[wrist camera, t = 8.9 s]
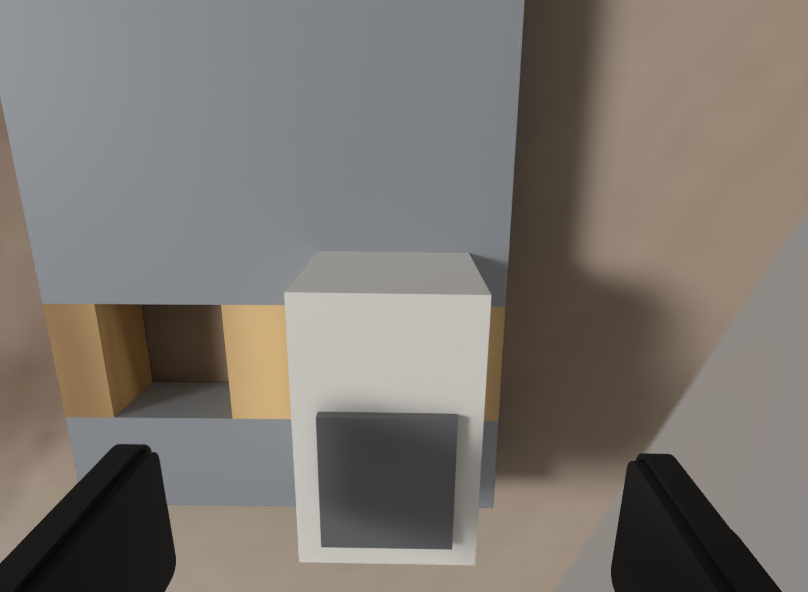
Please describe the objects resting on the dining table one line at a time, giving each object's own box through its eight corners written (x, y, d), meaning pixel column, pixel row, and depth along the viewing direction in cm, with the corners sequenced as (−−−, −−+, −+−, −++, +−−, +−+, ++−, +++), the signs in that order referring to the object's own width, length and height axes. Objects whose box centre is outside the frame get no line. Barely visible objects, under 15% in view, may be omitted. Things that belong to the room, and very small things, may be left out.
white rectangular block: (468, 252, 17) (493, 298, 12) (458, 461, 20) (476, 573, 14) (318, 251, 17) (281, 295, 12) (326, 459, 20) (296, 570, 14)
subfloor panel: (514, -128, 17) (536, -185, 14) (482, 462, 23) (493, 508, 20) (23, -128, 17) (-57, -184, 14) (123, 459, 23) (83, 503, 20)
